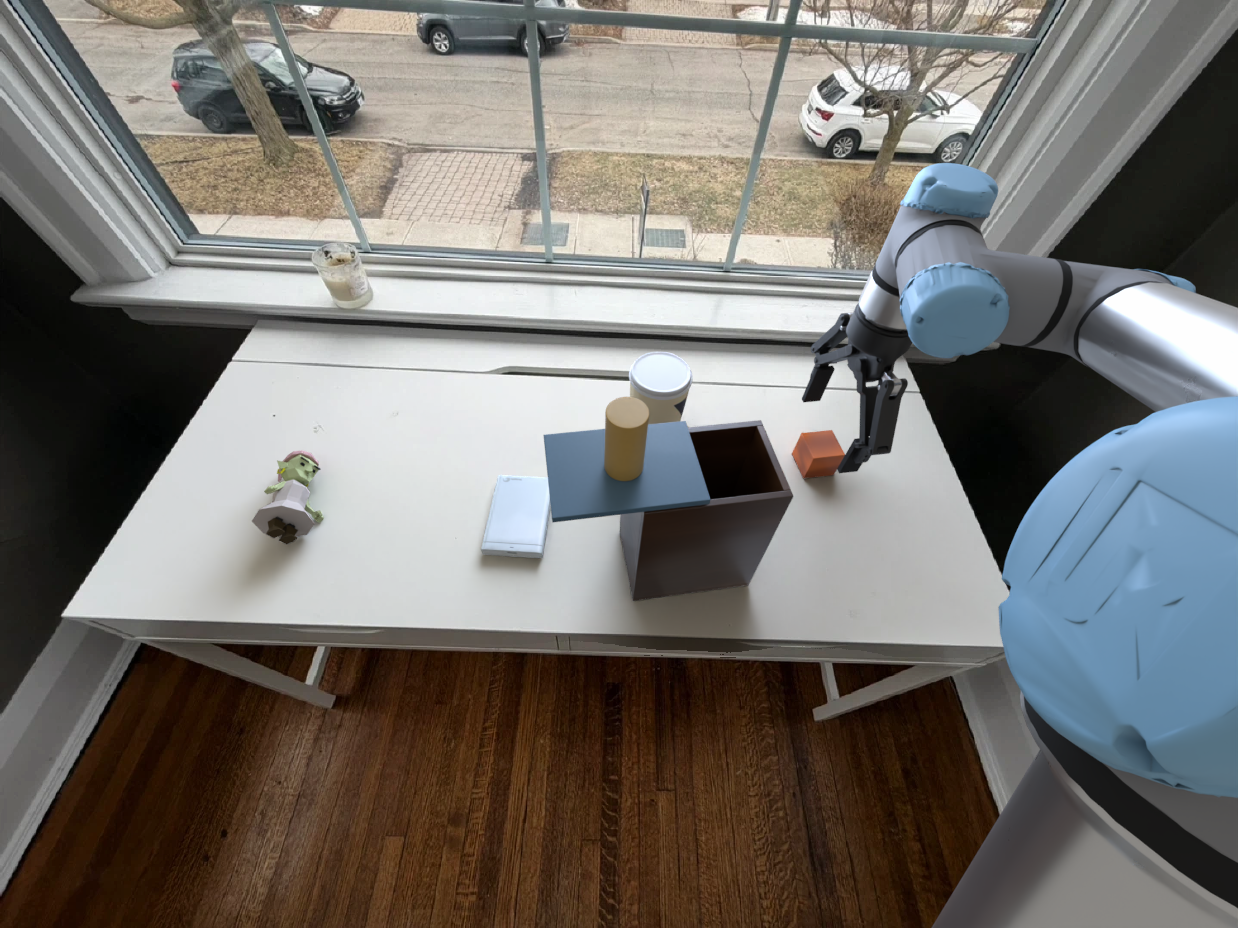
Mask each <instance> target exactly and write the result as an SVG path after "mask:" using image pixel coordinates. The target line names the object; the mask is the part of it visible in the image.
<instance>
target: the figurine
mask: <svg viewBox="0 0 1238 928" xmlns="http://www.w3.org/2000/svg"><path fill="white" fill-rule="evenodd" d="M276 462H277V466H278V468H277V470H276V474H277V482H278V483H276V484H273V485H269V486H267V487H266V489H264V490H263V491H264V492H263V493H264V494H266V495H271V494H272V499H271V503H267V504H266V505H263V506H262V507H260V508H259V509H257V512H256V513H255V515H254V517H253V518H252V520H251V522H252V523H253V524H254V525H255V526H256V527H257V529H259V531H260V532H261V533H262V534H265V535H266V536H268V537H270V538H272V539H276V538H278V542H280V543H282V544H284V545H289V544H292V543H294V542H296V540H297V539H298V537H302V536H308V534H309V533H310V532H311V530H312V529H313V527H314V526H315V525H316V523H319V524H321V522H323V521H324V519H325V516H324V515H323V512H322V511H321V510H316V511H315V510H314V509H313V507H311V504H310V501H309V498H310V495H311V492H310V490H309V489H308V487H309V485H310V483H311V482H312V481H313V479H314V477H316V474H317V473H318V472H319V471H320V470H321V467H319V465H320V462H319V460H317V458H316V457H315V455H313V454H312V452H309V451H306V450H303V449H301V450H294V451H292V452H290V453H289V454H287V455H286V457H285V458H284V459H283V460H276ZM282 479H283V481H282ZM310 515H311V516H310ZM313 519H314V520H313ZM314 521H315V522H316V523H315V522H314Z"/></svg>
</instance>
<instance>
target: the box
mask: <svg viewBox="0 0 1238 928" xmlns="http://www.w3.org/2000/svg"><path fill="white" fill-rule="evenodd" d="M687 427H688V426H687ZM688 430H689V433H690V436H691V439H692V443H693V446H694V449H695V452H696V455H697V458H698V462H699V465H700V468H701V471H702V474H703V477H704V480H705V484H706V487H707V490H708V493H709V496H710V499H711V500H710V503H709V504H705V505H697V506H688V507H680V508H671V509H663V510H654V511H646V512H637V513H629V514H620V515H619V517H620V518H619V537H620V540H621V546H622V553H623V558H624V562H625V568H626V573H627V579H628V584H629V590H630V595H631V600H632V601H631V602H638V601H639V602H640V601H646V600H652V599H653V600H654V599H660V598H668V597H676V596H683V595H689V594H696V593H697V594H698V593H703V592H711V591H716V590H717V591H718V590H725V589H726V590H727V589H733V588H739V587H745V586H746V587H747V586H749V585H750V583H751V581H752V579H753V577H754V575H755V574H756V571H757V570H758V568H759V565H760V564H761V562H762V559H763V557H764V556H765V554H766V551H768V548H769V546H770V544H771V542H772V540H773V539H774V536H775V534H776V532H777V531H778V528H779V526H780V524H781V522H782V521H783V518H784V516H785V514H786V512H787V510H788V508H789V506H790V504H791V502H792V500H793V498H794V494H793V491H792V490H791V487H790V484H789V482H788V479H787V478H786V475H785V473H784V470H783V468H782V466H781V464H780V461H779V459H778V456H777V454H776V452H775V450H774V446H773V445H772V442H771V440H770V438H769V435H768V434H767V431H766V429H765V426H764V424H763V421H762V420H761V419H759V420H749V421H740V422H730V423H729V422H727V423H718V424H708V425H700V426H699V425H697V426H689V427H688Z"/></svg>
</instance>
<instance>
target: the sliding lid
mask: <svg viewBox="0 0 1238 928" xmlns="http://www.w3.org/2000/svg"><path fill="white" fill-rule="evenodd" d="M604 417H605V419H604V420H605V421H604V428H597V429H588V430H579V431H577V430H576V431H567V432H558V433H556V432H555V433H547V434H546V433H545V434H543V444H544V452H545V453H544V454H545V455H544V456H545V463H546V464H545V465H546V475H547V478H548V485H549V494H550V504H551V505H550V513H551V521H552V523H560V522H568V521H569V522H570V521H576V520H577V521H578V520H585V519H594V518H602V517H603V518H604V517H611V516H621V514H629V513H637V512H646V511H654V510H663V509H671V508H680V507H688V506H697V505H705V504H709V503H710V500H711V499H710V496H709V493H708V490H707V487H706V484H705V480H704V477H703V474H702V471H701V468H700V465H699V462H698V458H697V455H696V452H695V449H694V446H693V443H692V439H691V436H690V433H689V430H688V424H687V421H686V420H681V421H679V422H669V423H659V424H648V422H649V409H648V407H647V406H646V404H645V403H644V402H642V401H641V400H639V399H637V398H634V397H630V396H621V397H620V396H619V397H616V398H613V400H611V401H610V402H609V403H608V404H607V406H606V407H605V415H604Z"/></svg>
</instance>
